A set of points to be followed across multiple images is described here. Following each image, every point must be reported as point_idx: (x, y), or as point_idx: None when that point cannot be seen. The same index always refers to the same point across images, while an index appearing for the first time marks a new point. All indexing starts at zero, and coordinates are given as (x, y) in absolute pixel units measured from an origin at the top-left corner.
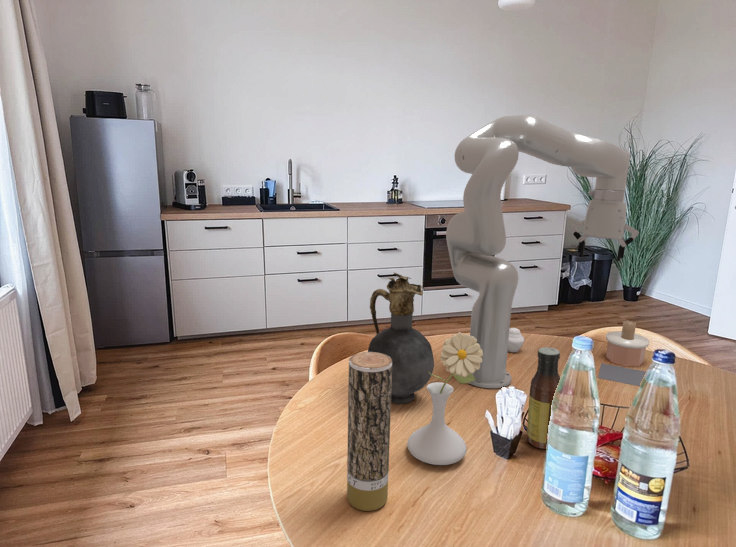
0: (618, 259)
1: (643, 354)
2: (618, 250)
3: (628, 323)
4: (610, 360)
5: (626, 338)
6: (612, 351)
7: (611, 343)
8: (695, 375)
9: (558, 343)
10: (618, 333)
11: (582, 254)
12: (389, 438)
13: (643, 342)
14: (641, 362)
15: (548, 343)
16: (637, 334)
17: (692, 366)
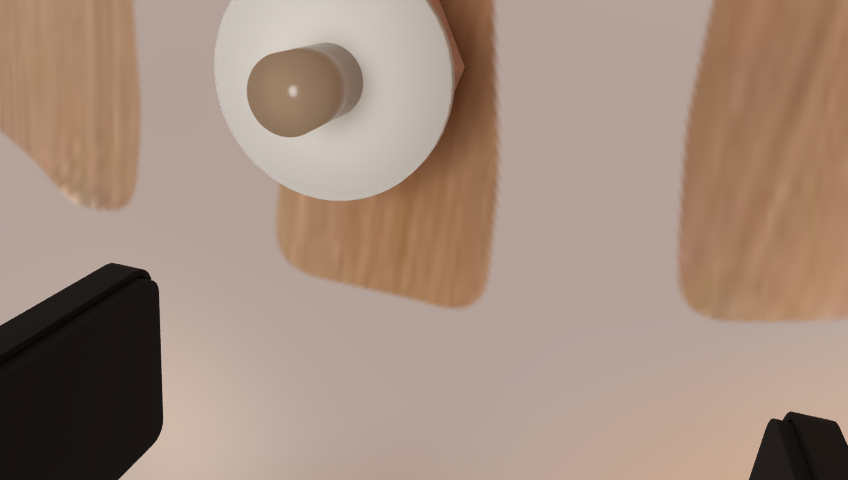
0: (120, 274)
1: None
2: (17, 365)
3: (292, 67)
4: (441, 10)
5: (331, 43)
6: None
7: None
8: (82, 19)
9: (724, 210)
10: (377, 149)
11: (780, 432)
12: None
13: (242, 31)
14: None
15: (790, 186)
16: (275, 176)
17: (96, 136)
